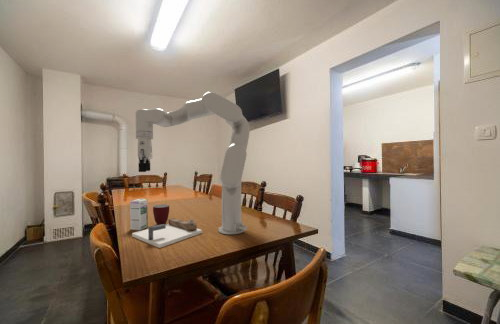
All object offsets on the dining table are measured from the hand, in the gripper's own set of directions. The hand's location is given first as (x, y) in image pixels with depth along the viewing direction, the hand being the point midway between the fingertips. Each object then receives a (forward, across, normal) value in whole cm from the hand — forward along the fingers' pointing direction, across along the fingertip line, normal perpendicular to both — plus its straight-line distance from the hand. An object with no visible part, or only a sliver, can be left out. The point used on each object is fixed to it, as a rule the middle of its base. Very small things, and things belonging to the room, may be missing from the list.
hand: (144, 171), depth 106 cm
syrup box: (+29, +6, +4) cm, 30 cm away
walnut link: (+27, -2, -17) cm, 33 cm away
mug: (+29, +12, -6) cm, 32 cm away
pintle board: (+29, -7, -11) cm, 32 cm away
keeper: (+28, -15, -7) cm, 32 cm away
